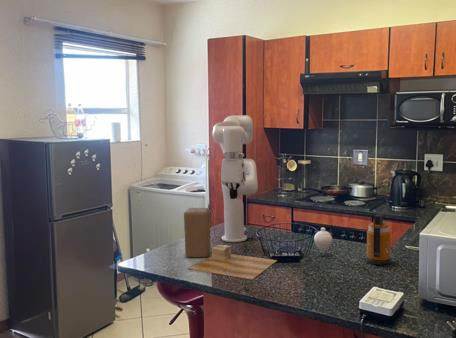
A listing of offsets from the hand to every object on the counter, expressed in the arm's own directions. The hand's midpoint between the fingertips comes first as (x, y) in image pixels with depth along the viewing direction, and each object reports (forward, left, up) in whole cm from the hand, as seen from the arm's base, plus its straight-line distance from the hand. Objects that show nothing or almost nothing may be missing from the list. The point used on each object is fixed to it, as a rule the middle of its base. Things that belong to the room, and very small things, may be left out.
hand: (233, 198), depth 193 cm
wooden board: (+12, +6, -25) cm, 28 cm away
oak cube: (+7, -2, -25) cm, 26 cm away
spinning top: (-15, +35, -25) cm, 46 cm away
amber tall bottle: (-14, +58, -25) cm, 65 cm away
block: (+6, -15, -25) cm, 30 cm away
